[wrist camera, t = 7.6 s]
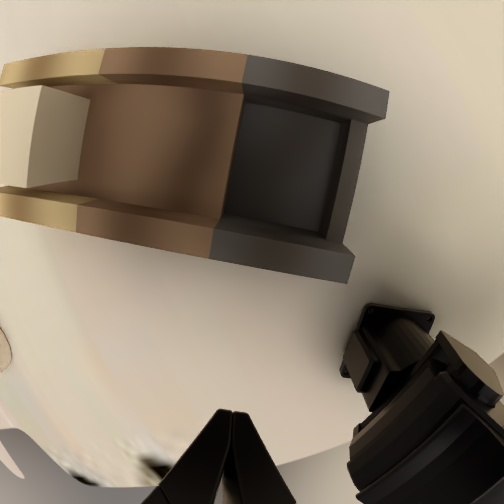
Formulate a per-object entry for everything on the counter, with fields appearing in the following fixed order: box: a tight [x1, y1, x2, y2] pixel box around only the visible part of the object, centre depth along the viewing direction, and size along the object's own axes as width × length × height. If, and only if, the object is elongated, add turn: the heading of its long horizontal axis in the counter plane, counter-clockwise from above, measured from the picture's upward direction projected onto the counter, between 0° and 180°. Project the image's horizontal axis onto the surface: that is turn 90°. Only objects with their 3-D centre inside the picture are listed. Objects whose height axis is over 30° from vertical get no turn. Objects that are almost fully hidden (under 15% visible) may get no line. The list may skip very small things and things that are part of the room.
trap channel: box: [0, 47, 389, 284], centre depth 16 cm, size 23×10×5 cm, turn 79°
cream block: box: [0, 85, 90, 188], centre depth 13 cm, size 5×5×5 cm
